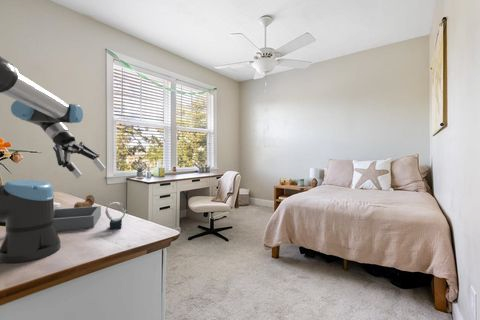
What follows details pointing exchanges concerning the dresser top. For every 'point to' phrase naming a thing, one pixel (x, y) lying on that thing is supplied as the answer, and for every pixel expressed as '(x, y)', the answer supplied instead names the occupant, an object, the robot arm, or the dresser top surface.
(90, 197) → the lion figurine
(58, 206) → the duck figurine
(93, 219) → the tray
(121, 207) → the watch
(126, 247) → the dresser top surface
